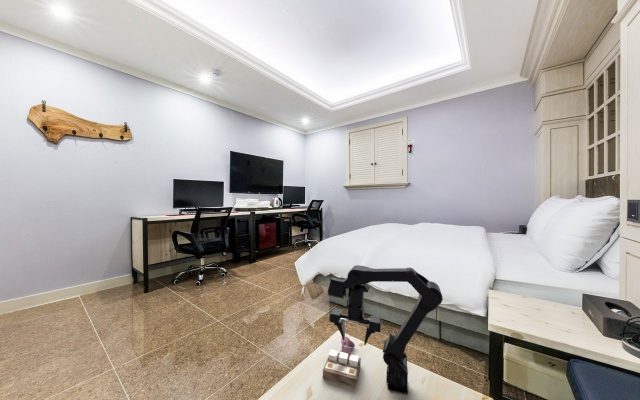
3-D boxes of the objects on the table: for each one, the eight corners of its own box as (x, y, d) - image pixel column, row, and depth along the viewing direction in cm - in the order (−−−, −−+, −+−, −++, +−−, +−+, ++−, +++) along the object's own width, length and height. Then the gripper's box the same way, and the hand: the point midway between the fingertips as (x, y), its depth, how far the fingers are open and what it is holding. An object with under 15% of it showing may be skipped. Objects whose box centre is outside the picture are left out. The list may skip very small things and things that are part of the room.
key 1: (338, 357, 88) (338, 351, 88) (336, 362, 85) (336, 356, 85) (330, 355, 89) (330, 349, 89) (328, 360, 86) (328, 354, 86)
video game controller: (345, 349, 99) (339, 334, 99) (355, 345, 98) (348, 330, 99) (346, 366, 89) (338, 349, 89) (357, 361, 88) (349, 345, 89)
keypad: (360, 365, 87) (360, 357, 87) (356, 387, 77) (356, 378, 77) (330, 358, 91) (330, 350, 91) (322, 378, 81) (322, 369, 81)
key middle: (348, 360, 87) (348, 353, 87) (346, 365, 84) (346, 359, 84) (340, 358, 88) (340, 351, 88) (338, 363, 85) (338, 357, 85)
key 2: (358, 362, 86) (358, 356, 86) (357, 368, 83) (357, 361, 83) (350, 360, 86) (350, 354, 86) (349, 366, 84) (349, 359, 84)
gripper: (382, 296, 89) (381, 335, 89) (336, 288, 95) (335, 325, 95) (381, 309, 78) (379, 353, 79) (329, 299, 84) (328, 341, 84)
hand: (354, 341), depth 84 cm, fingers open, 8 cm apart
